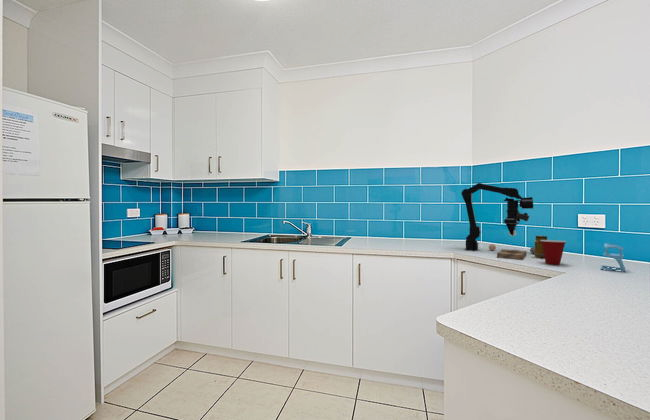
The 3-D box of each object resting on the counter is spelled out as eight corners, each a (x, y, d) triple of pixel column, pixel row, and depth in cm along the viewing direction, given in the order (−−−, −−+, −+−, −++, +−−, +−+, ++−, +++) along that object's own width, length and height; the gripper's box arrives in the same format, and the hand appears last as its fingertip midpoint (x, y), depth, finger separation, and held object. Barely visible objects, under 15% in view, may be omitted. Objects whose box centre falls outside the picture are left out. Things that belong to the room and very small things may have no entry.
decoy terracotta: (488, 250, 193) (488, 244, 193) (489, 249, 196) (489, 243, 196) (495, 251, 191) (495, 244, 190) (496, 250, 194) (496, 243, 194)
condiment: (536, 255, 173) (536, 234, 173) (554, 258, 167) (554, 236, 166) (531, 257, 169) (531, 236, 168) (550, 259, 162) (550, 237, 162)
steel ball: (508, 236, 185) (508, 229, 185) (509, 235, 188) (509, 229, 188) (515, 236, 182) (515, 229, 182) (516, 235, 185) (516, 229, 185)
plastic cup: (563, 262, 156) (563, 238, 155) (569, 266, 146) (569, 241, 145) (537, 260, 160) (537, 238, 160) (541, 264, 151) (542, 240, 150)
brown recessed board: (497, 257, 170) (497, 253, 170) (502, 253, 183) (502, 249, 183) (522, 259, 163) (522, 255, 163) (526, 255, 175) (526, 251, 175)
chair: (626, 273, 133) (627, 245, 132) (600, 270, 138) (601, 243, 138) (625, 269, 138) (626, 243, 138) (600, 267, 144) (601, 241, 143)
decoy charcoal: (529, 254, 179) (529, 247, 179) (530, 253, 182) (530, 246, 182) (537, 254, 177) (537, 247, 176) (538, 253, 180) (538, 246, 180)
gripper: (526, 209, 172) (526, 236, 173) (530, 208, 187) (529, 233, 187) (504, 209, 179) (504, 235, 180) (509, 208, 194) (508, 232, 194)
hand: (512, 234), depth 185 cm, fingers closed on steel ball, 4 cm apart
